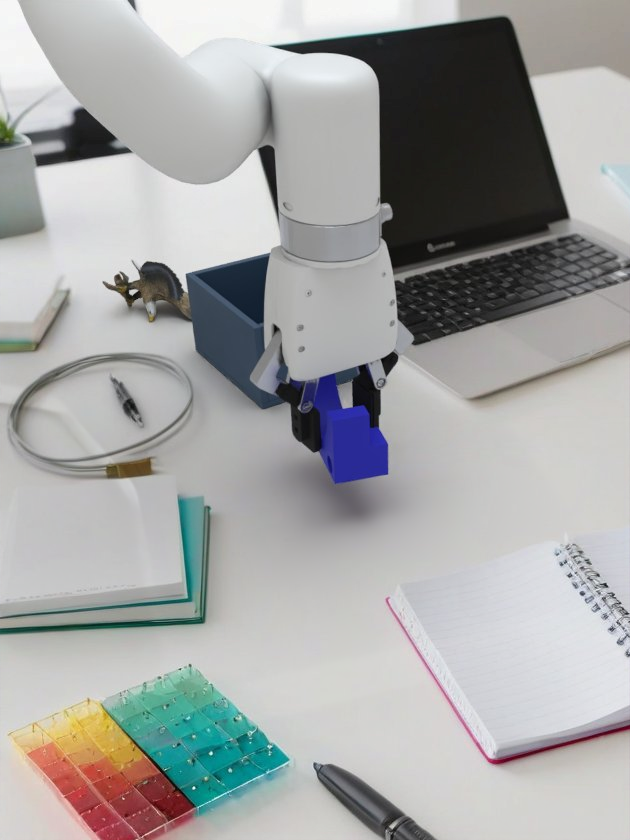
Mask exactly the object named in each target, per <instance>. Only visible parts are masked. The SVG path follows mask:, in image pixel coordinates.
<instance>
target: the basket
mask: <svg viewBox="0 0 630 840" xmlns="http://www.w3.org/2000/svg"><path fill="white" fill-rule="evenodd" d="M269 257H270V252H267V253H263V254H259V255H255V256H250V257H246V258H242V259H239V260H234V261H231V262H227V263H223V264H219V265H215V266H210V267H206V268H202V269H198V270H194V271H192V272H191V271H190V272H187V273H185V279H186V281H185V282H186V289H187V293H188V296H189V304H190V311H191V318H192V319H191V324H192V333H193V339H194V340H193V341H194V345H195V352H197V353H198V354H199V355H201V357H203V358H204V359H205V360H206V361H207V362H208V363H209V364H210V365H212V366H213V367H214V368H215V369H216V370H217V371H219V373H220V374H222V375H223V376H225V378H227V379H228V381H230V382H231V383H233V384H234V385H235V386H236V387H237V388H238V389H239V390H240V391H241V392H242V393H244V394H245V395H246V396H247V397H248V398H249V399H251V400H252V402H254V403H255V404H256V405H257V406H258V407H259V408H261V409H262V410H264V409H267V408H270V407H274V406H276V405H280V404H283V403H287V402H286V401H284V400H282V399H281V398H280V397H278V396H276V395H273V394H271V393H268V392H266V391H264V390H262V389H259V388H258V387H257V386H256V385H255V384H254V383H252V382H251V381H250V375H251V373H252V372H253V370H254V368H255V367H256V365H257V363H258V361H259V360H260V358H261V356H262V355H263V353H264V351H265V343H264V299H265V284H266V275H267V268H268V263H269ZM287 373H288V366H286V364H285V361H284V363H283V364H282V366H281V368H280V370H279V371H278V373H277V375H276V377H279V378H281V379H283V380H284V381H286V378H287ZM358 375H359V374H358V372H357V369H356V367H353V368H350V369H346V370H343V371H340V372H336V373H335V377H336V383H337V386H338V385H341V384H344V383H348V382H350V381H351V382H352V381H353V377H356V376H358Z"/></svg>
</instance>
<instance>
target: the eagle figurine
mask: <svg viewBox="0 0 630 840" xmlns="http://www.w3.org/2000/svg"><path fill="white" fill-rule="evenodd" d="M130 260H131V261H130V262H131V263H132V265H133V266H134V267H135V268H136V270H137V273H138V276H139V279H137V280H133V281H129V280H130V277H129V276H128V275H127V274H125V273H124V272H123V271H121V270H119V272H118V273H117V274H115V275H114V277H113V281H114V285H113V284H111V283H108V282H106V280H102V285H103V286H105V288H106V289H107V290H110V291H113V292H115V293H116V292H117V294H119V295H120V296H121V297H122V298H123V299H124V300H125V302H126V304H127V307H128V308H132V307H133V305H134V303H135V302H136V301H137V300H139V299H142V302H143V304H144V306H145V308H146V311H147V314H148V322H149V323H151V322H153V321H154V318H155V316H156V315H157V307H156V306H157V305H156V303H157V302H158V301H165V302H167V303H169V304H171V305H172V306H174V307H175V308H177V309H178V310H179V311H180V312H181V313H182V314H183V315H184V316H185V317H187V318H188V319H189V320H192V318H191V311H190V304H189V296H188V291H185V290H184V288H182V287H183V284H182V283H181V281H180V278H179V277H178V275H177V273H175V272H174V270H173V269H171V267H169V266H168V265H166V263H163V262H157V261H149V260H146V261H145V262H144V263H143V264H142V265H140V264H139V263H138V262H137V260H134V259H130ZM133 290H136V292H135V293H133V294H131V293H130V291H133Z"/></svg>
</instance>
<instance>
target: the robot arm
mask: <svg viewBox="0 0 630 840" xmlns="http://www.w3.org/2000/svg"><path fill="white" fill-rule="evenodd" d="M17 3H18V4H19V7H20V10H21V12H22V14H23V17H24V19H25V21H26V24H27V26H28V28H29V30H30V31H31V34H32V35H33V37H34V39H35V40H36V42H37V44H38V45H39V47H40V49H41V51H42V52H43V54H44V56H45V57H46V59H47V61H48V64H50V66H51V68H52V69H53V71H54V72H55V74H56V76H57V77H58V79H59V81H60V82H61V83H62V84H63V86H64V87H65V88H66V90H67V91H68V92H69V93H70V94H71V96H72V97H73V98H74V99H75V100H76V101H77V102H78V104H80V105H81V106H82V107H83V108H84V110H86V111H87V112H88V113H89V114H90V115H91V116H92V117H93V118H94V119H95V120H96V121H97V122H99V123H100V125H102V127H104V128H105V129H106V130H107V131H108V132H109V133H111V134H112V135H113V136H114V137H115V138H116V139H117V140H119V142H120V143H122V144H123V145H124V146H125V147H126V148H127V149H128V150H130V151H131V152H132V153H133V154H134V155H136V157H138V158H140V159H141V160H142V161H144V163H146V164H147V165H149V166H150V167H151V168H153V169H154V170H156V171H158V172H159V173H161V174H162V175H164V176H167V177H169V178H171V179H173V180H176V181H178V182H181V183H185V184H189V185H195V186H197V185H201V186H202V185H211V184H214V183H218V182H220V181H221V180H222V181H223V180H224V179H226V178H228V177H229V176H231V175H232V174H233V173H234V172H235V171H236V170H238V169H239V168H240V167H241V166H242V164H243V163H244V162H245V161H246V160H247V159H248V158H249V157H250V156H251V154H252V153H253V152H254V151H256V150H258V149H261V148H263V147H265V146H270V147H272V148H273V149H274V160H275V177H276V178H275V179H276V189H277V190H276V193H277V195H276V196H277V207H278V223H279V224H278V225H279V240H280V245H277V246H274V247H272V248H271V249H270V252H269V253H270V257H269V263H268V268H267V275H266V284H265V299H264V343H265V351H264V353H263V355H262V356H261V358H260V360H259V361H258V363H257V365H256V367H255V368H254V370H253V372H252V373H251V375H250V381H251V382H252V383H254V384H255V385H256V386H257V387H258V388H259V389H262V390H264V391H266V392H268V393H271V394H273V395H276V396H278V397H280V398H281V399H282V400H284V401H286V402H285V403H287V404H289V405H290V419H291V432H292V435H293V437H294V438H295V440H297V441H298V442H299V443H301V444H302V445H303V446H305V448H307V449H308V450H309V451H310V452H311V453H312V454H315V453H319V452H318V451H320V449H321V426H320V412H319V410H318V409H317V408H315V407H314V406H313V405H314V400H315V396H316V391H317V387H318V382H319V378H320V377H323V376H326V375H330V374H333V373H336V372H340V371H343V370H346V369H350V368H353V367H356V369H357V372H358V374H359V375H358V376H356V377H353V380H351V393H352V394H351V397H352V399H351V401H352V407H356V406H363V405H364V406H365V408H366V410H367V411H368V413H369V418H370V427H371V428H375V427H378V428H379V429H380V416H381V414H382V395H381V394H382V393H381V390H382V389H384V388H385V387H386V386H387V384H388V380H387V379H388V378H387V377H388V376H389V374H390V373H391V371H392V370H393V369H394V368H395V366H397V363H398V362H399V358H400V356H402V355H403V354H404V353H405V352H406V351H407V349H408V348H409V347H410V346H411V345H412V343H413V342H414V340H415V336H414V335H413V333H412V332H411V331H409V329H408V328H407V327H406V326H405V325H404V323H402V322H401V320H400V319H398V305H397V293H396V285H395V284H396V283H395V277H394V272H393V266H392V261H391V256H390V253H389V249H388V246H387V242H386V241H385V240H384V239H383V237H382V236H383V234H382V231H383V230H382V229H383V227H382V225H383V224H384V223H385V222H387V221H391V220H392V219H393V215H394V213H393V209H392V206H391V204H390V203H388V202H384V203H381V164H380V163H381V148H380V145H381V144H380V141H381V138H380V137H381V135H380V129H381V128H380V88H379V87H380V85H379V80H378V77H377V74H376V73H375V71H374V70H373V68H372V67H371V66H370V65H369V64H367V63H366V62H365V61H363V60H361V59H360V58H356V57H353V56H349V55H347V54H340V53H332V52H331V53H328V52H312V53H303V54H302V53H297V52H293V51H289V50H285V49H280V48H277V47H273V46H271V45H266V44H263V43H260V42H255V41H252V40H247V39H244V38H238V37H219V38H214V39H211V40H210V39H209V40H208V41H206V42H204V43H202V44H200V45H199V46H197V47H196V48H195V49H194V50H192V51H191V52H190V53H189V54H187V55H185V56H184V57H181V56H180V54H178V53H177V52H176V51H175V50H174V49H173V48H172V47H171V46H170V45H168V44H167V43H166V42H165V40H163V39H162V38H161V37H160V36H159V34H157V33H156V32H155V31H154V30H153V28H151V27H150V26H149V25H148V23H146V22H145V20H144V19H143V18H142V17H141V16H140V15H139V13H138V12H137V10H135V8H134V7H133V6H132V5H131V3H130V2H129V0H17ZM284 361H285V364H286V366H288V373H287V378H286V381H284V380H283V379H281V378H279V377H276V375H277V373H278V371H279V370H280V368H281V366H282V364H283V363H284Z"/></svg>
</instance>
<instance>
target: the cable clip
mask: <svg viewBox="0 0 630 840" xmlns="http://www.w3.org/2000/svg"><path fill="white" fill-rule="evenodd" d="M313 406H314V407H315V408H317V409H318V410H319V412H320V426H321V449H320V451H318V452H317V453H319V456H320V458H321V459H322V461H323V463H324V465H325V467H326V469H327V471H328V474H329V476H330V477H331V479H332V481H333V483H334V485H338V484H343V483H349V482H355V481H360V480H365V479H371V478H376V477H383V476H388V475H389V443H388V441H387V440H386V438H385V436H384V434H383V432H382V431H381V429H380V427H379V428H378V427H375V428H371V427H370V418H369V413H368V411H367V410H366V408H365V406H364V405H363V406H356V407H353V406H351V407H345V408H343V405H342V401H341V397H340V393H339V389H338V385H337V383H336V377H335V373H333V374H330V375H326V376H323V377H320V378H319V382H318V387H317V391H316V396H315V400H314V405H313Z"/></svg>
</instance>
